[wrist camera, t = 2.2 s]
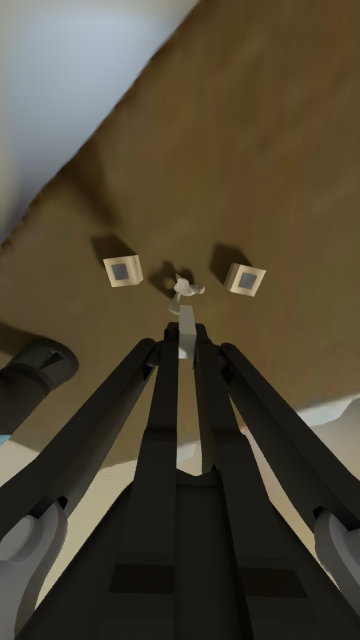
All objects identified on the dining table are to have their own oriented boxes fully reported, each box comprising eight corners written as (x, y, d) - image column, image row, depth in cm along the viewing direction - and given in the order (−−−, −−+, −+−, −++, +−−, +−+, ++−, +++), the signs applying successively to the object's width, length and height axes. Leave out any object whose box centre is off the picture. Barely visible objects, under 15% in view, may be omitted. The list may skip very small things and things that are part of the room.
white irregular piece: (194, 258, 28) (207, 295, 22) (203, 279, 33) (215, 313, 27) (157, 277, 30) (162, 314, 25) (171, 294, 35) (177, 328, 30)
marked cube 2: (122, 281, 32) (111, 287, 27) (115, 257, 29) (102, 259, 25) (143, 279, 31) (136, 284, 27) (138, 255, 29) (129, 256, 24)
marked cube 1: (223, 285, 32) (230, 291, 27) (231, 262, 29) (240, 264, 25) (243, 289, 32) (254, 296, 27) (253, 267, 30) (266, 270, 25)
